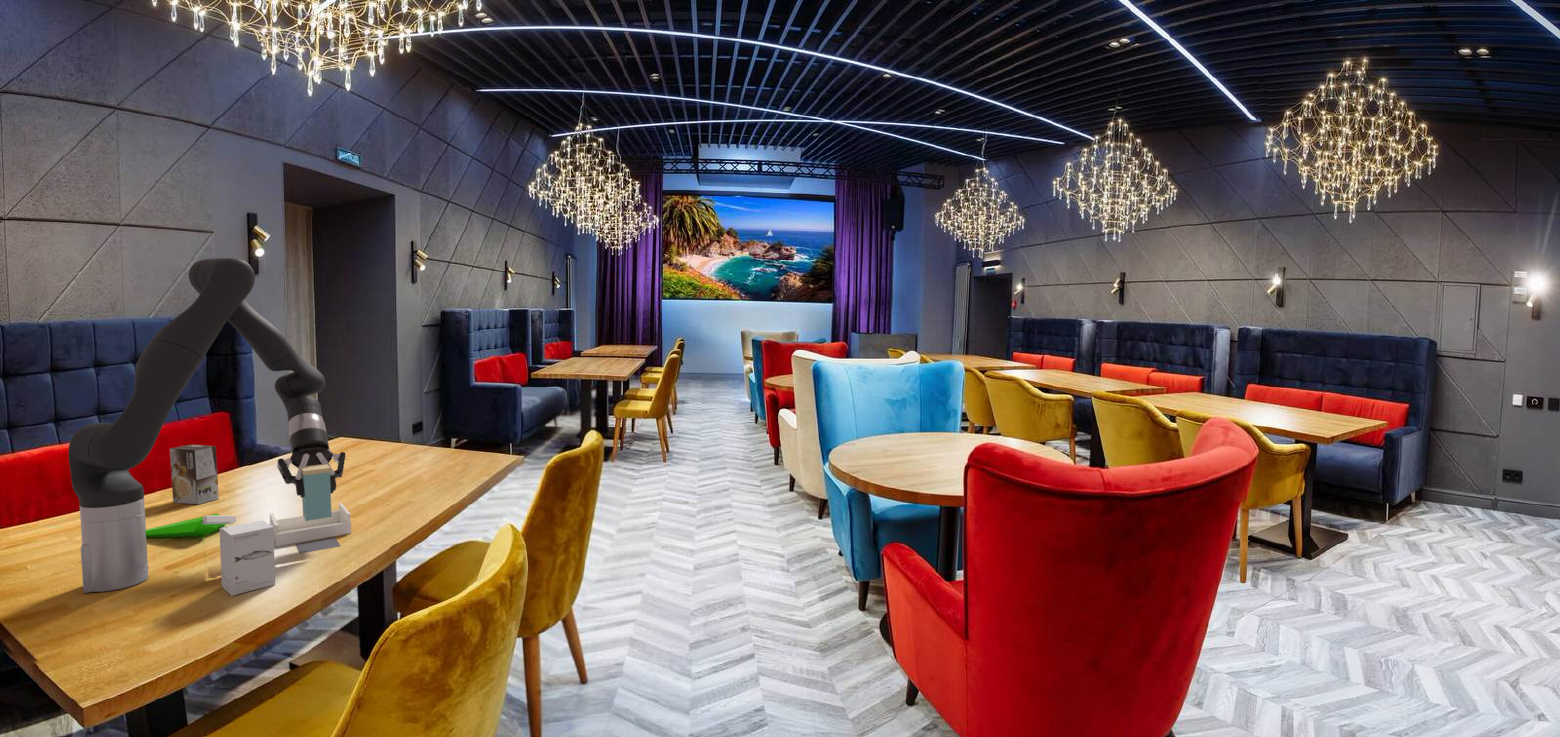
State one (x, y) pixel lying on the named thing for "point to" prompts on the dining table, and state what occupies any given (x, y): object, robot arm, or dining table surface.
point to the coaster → (317, 545)
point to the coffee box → (194, 474)
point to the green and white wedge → (192, 526)
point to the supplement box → (247, 557)
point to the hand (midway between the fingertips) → (317, 493)
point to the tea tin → (316, 492)
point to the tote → (310, 527)
